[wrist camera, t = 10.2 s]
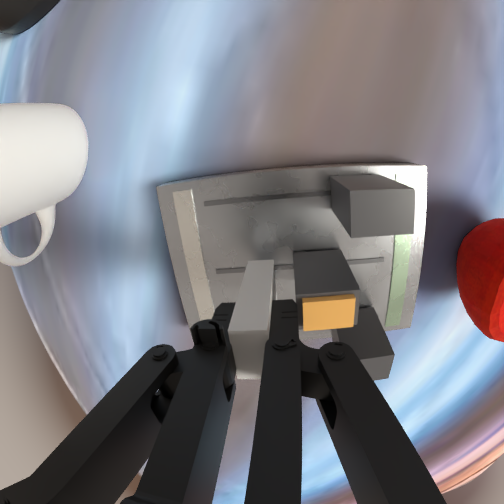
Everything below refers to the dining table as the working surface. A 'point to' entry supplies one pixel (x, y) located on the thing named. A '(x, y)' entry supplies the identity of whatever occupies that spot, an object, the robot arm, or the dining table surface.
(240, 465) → the dining table surface
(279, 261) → the panel
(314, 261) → the block
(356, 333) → the breaker
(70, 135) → the mug
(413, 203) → the block
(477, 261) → the apple
